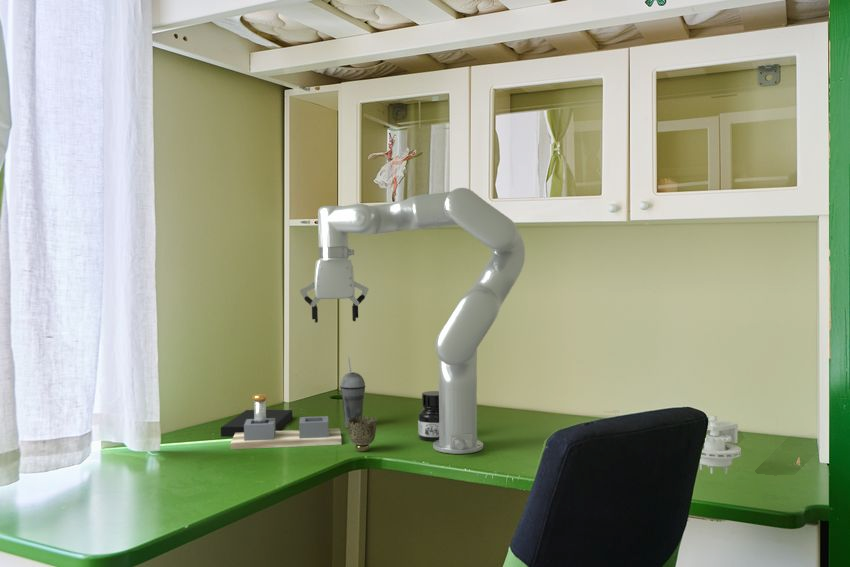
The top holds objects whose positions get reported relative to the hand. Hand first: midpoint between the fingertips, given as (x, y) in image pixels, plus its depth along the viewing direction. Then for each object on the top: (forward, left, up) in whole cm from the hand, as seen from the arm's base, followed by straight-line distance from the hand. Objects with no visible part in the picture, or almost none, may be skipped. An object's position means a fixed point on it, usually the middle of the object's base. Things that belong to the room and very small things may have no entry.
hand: (335, 321), depth 196 cm
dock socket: (+7, +20, -30) cm, 37 cm away
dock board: (+7, +13, -32) cm, 35 cm away
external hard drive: (+26, +22, -33) cm, 47 cm away
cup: (-6, -6, -32) cm, 33 cm away
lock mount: (+7, +6, -30) cm, 32 cm away
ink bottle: (+4, -26, -32) cm, 42 cm away
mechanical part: (-37, -83, -32) cm, 97 cm away
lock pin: (+7, +20, -31) cm, 37 cm away
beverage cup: (+21, -5, -32) cm, 39 cm away
